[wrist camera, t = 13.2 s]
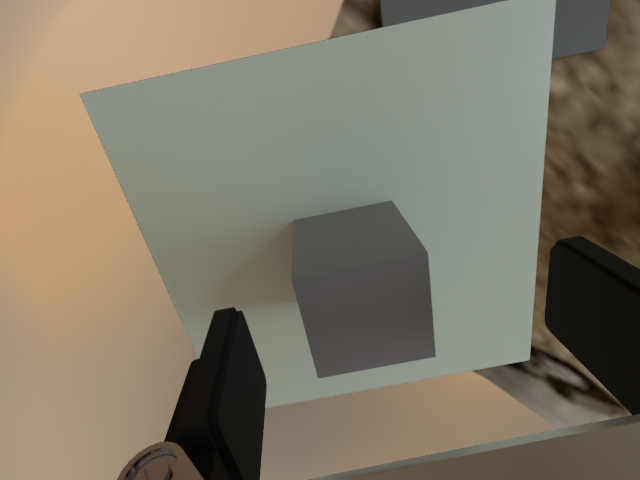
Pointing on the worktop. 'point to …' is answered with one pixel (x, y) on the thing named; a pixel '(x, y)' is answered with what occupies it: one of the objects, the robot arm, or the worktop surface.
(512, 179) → the cover
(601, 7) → the mat
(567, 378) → the worktop surface
